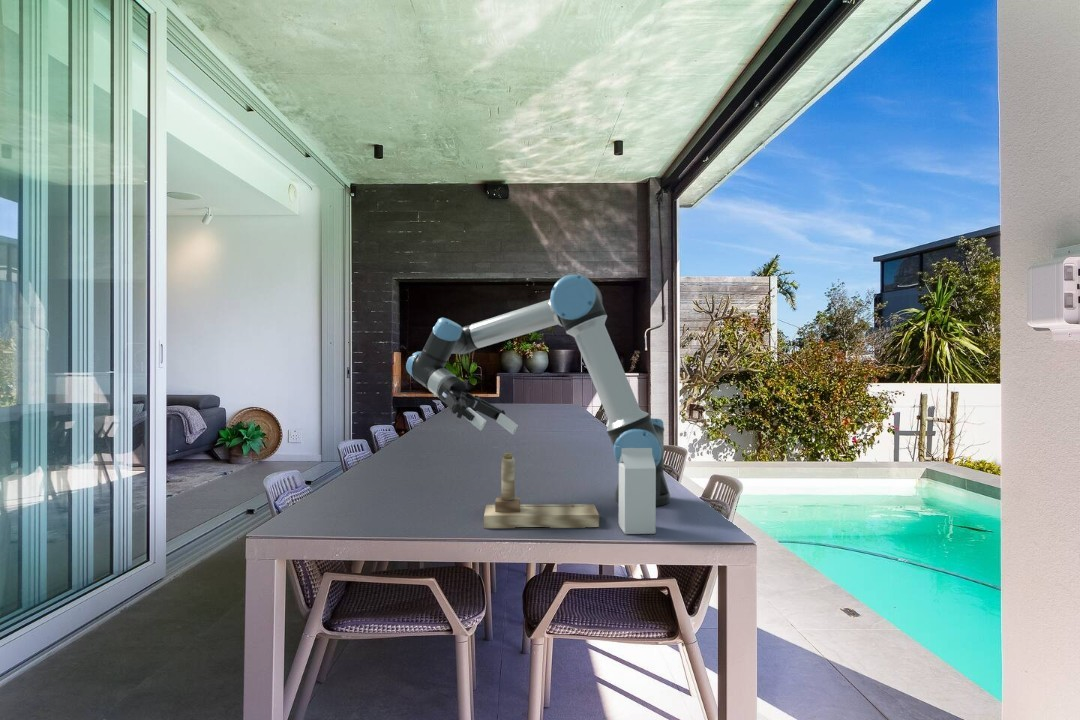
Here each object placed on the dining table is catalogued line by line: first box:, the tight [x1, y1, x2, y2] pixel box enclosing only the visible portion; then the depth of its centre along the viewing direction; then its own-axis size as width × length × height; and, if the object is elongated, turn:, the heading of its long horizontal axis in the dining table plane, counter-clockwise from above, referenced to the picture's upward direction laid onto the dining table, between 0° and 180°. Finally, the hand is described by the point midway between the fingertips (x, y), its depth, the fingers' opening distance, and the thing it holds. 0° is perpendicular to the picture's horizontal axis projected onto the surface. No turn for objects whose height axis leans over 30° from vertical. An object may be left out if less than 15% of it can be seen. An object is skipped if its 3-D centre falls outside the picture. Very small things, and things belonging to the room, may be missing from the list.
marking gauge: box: [494, 452, 521, 512], centre depth 143 cm, size 6×4×14 cm, turn 92°
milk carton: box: [618, 448, 657, 535], centre depth 137 cm, size 7×7×19 cm
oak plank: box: [483, 503, 600, 529], centre depth 143 cm, size 27×10×3 cm, turn 92°
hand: (500, 427), depth 149 cm, fingers open, 13 cm apart
